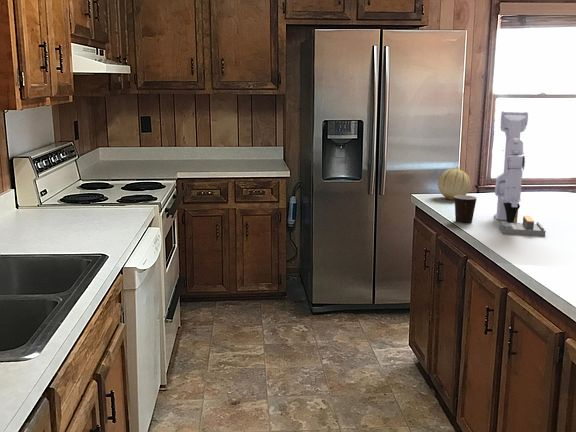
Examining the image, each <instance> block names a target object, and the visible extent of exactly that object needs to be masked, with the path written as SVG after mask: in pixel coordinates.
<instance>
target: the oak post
mask: <svg viewBox="0 0 576 432" xmlns="http://www.w3.org/2000/svg"><path fill="white" fill-rule="evenodd" d="M518 215H519V210H518V211H517V213H516V215H515V219H514V222H513V223H518Z"/></svg>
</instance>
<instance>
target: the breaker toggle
mask: <svg viewBox="0 0 576 432" xmlns="http://www.w3.org/2000/svg"><path fill="white" fill-rule="evenodd" d="M522 223H523V224H524V226H525V227H526V229H533V228H534V224H535V221H534V219H533V218H532V217H531V215H523V217H522Z"/></svg>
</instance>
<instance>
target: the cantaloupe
mask: <svg viewBox="0 0 576 432" xmlns="http://www.w3.org/2000/svg"><path fill="white" fill-rule="evenodd" d="M437 182H438V183H437V188H438V191H439V193H440V194H441V195H442V196H443V198H446V199H448V200H454V196H458V195H467V194H468V193H469V191H470V189H471V179H470V176H469V175H468V173H466V172H465V171H464V170H462V169H460V168H459V167H458V166H456V168H449V169H446V170H445V171H443V172H442V173H441V175H440V176H439V178H438V180H437Z"/></svg>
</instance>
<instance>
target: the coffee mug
mask: <svg viewBox="0 0 576 432" xmlns="http://www.w3.org/2000/svg"><path fill="white" fill-rule="evenodd" d="M477 198H478V197H476V196H473V195H467V194H466V195H458V196H454V199H453V200H454V213H455V214H454V215H455V223H459V224H472V223H473V219H474V214H475V213H474V212H475V210H476V209H475V208H476V203H477Z"/></svg>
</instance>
